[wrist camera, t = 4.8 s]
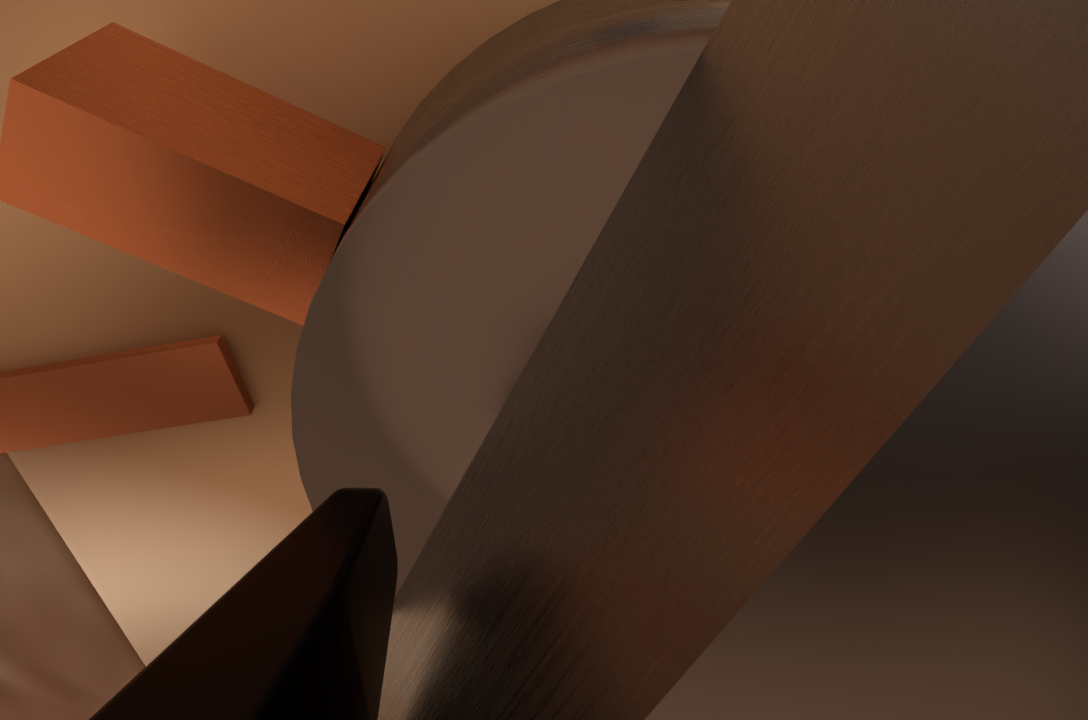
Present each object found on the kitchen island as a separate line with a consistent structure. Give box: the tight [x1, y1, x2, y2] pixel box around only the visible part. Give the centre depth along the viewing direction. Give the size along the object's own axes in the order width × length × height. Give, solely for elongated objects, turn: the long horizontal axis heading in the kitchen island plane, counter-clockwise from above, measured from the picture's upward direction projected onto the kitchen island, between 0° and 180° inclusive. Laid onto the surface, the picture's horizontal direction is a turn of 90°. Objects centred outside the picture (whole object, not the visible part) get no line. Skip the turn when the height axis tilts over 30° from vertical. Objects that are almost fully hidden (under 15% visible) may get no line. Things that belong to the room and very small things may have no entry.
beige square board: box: [0, 0, 560, 666], centre depth 12 cm, size 20×20×1 cm
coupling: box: [0, 0, 1088, 720], centre depth 8 cm, size 11×11×8 cm
